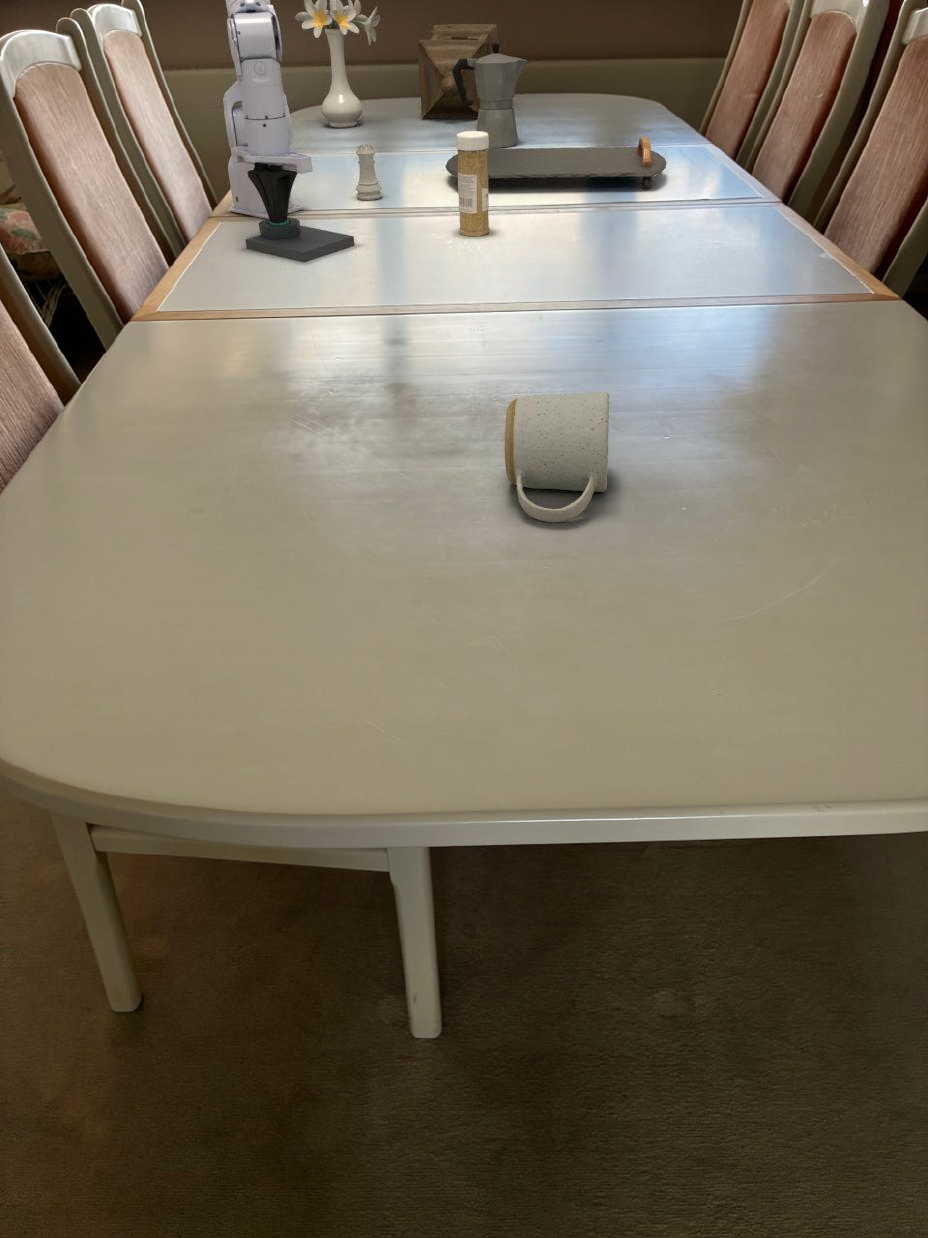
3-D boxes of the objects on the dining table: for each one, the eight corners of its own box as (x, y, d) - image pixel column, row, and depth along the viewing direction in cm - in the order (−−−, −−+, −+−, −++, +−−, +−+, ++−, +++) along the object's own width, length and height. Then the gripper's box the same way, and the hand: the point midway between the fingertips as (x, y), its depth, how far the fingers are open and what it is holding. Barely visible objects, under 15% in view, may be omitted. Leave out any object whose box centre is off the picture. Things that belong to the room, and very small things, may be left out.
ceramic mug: (510, 460, 82) (510, 375, 77) (607, 463, 81) (613, 377, 76) (499, 525, 74) (498, 434, 69) (607, 529, 73) (613, 437, 68)
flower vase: (384, 128, 215) (375, -4, 200) (302, 131, 215) (288, -2, 201) (388, 119, 226) (380, -8, 211) (310, 121, 226) (297, -6, 211)
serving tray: (441, 193, 162) (439, 153, 159) (451, 165, 181) (450, 129, 177) (672, 191, 160) (675, 150, 156) (658, 162, 178) (661, 125, 175)
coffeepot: (521, 137, 202) (522, 38, 192) (533, 145, 195) (535, 42, 184) (449, 142, 200) (446, 42, 189) (459, 151, 192) (456, 47, 182)
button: (266, 233, 139) (265, 222, 138) (281, 229, 141) (279, 217, 140) (279, 236, 137) (278, 224, 136) (294, 231, 139) (292, 220, 138)
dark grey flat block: (242, 248, 138) (239, 226, 136) (293, 233, 144) (291, 211, 143) (304, 262, 132) (301, 240, 130) (354, 246, 138) (352, 224, 136)
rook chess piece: (386, 195, 163) (383, 143, 158) (376, 201, 160) (372, 148, 155) (362, 193, 164) (358, 142, 159) (351, 199, 161) (347, 147, 156)
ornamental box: (481, 138, 217) (491, 44, 205) (404, 127, 217) (410, 33, 206) (496, 108, 244) (506, 24, 233) (428, 99, 245) (434, 14, 233)
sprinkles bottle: (495, 233, 141) (495, 132, 133) (469, 238, 139) (467, 136, 131) (478, 227, 144) (476, 128, 136) (452, 232, 142) (449, 132, 134)
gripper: (207, 116, 131) (224, 220, 139) (279, 125, 124) (292, 235, 132) (247, 108, 136) (261, 210, 144) (318, 117, 128) (329, 223, 136)
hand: (278, 221), depth 138 cm, fingers closed, pressing on button
